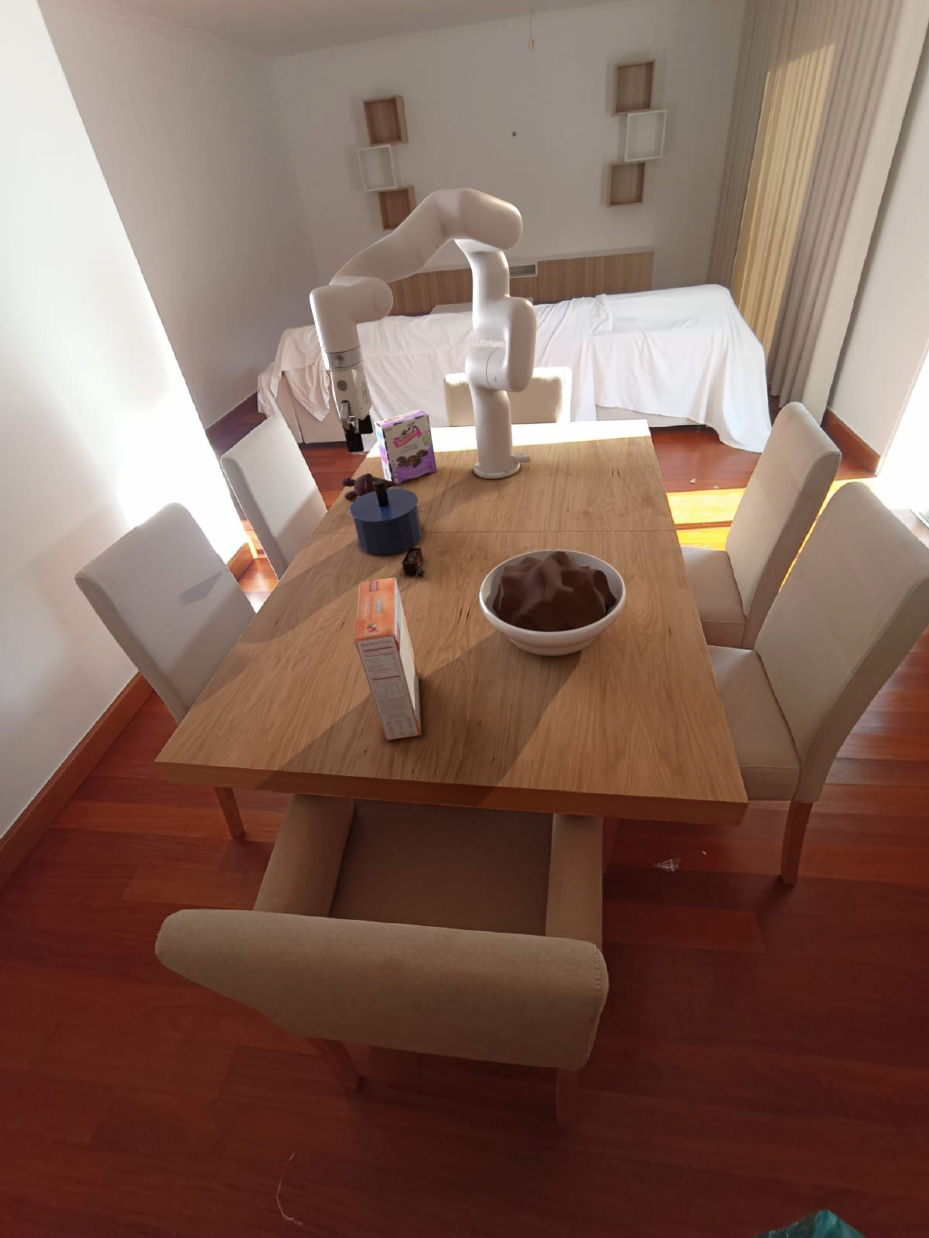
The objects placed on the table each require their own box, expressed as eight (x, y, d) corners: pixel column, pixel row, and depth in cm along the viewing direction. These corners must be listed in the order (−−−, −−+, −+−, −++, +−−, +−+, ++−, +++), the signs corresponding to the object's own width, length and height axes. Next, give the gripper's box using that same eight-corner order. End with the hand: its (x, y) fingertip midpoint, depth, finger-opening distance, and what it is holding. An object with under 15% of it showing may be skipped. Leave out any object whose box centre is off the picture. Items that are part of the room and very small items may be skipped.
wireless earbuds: (402, 578, 127) (400, 565, 125) (412, 560, 133) (409, 547, 131) (423, 579, 126) (421, 566, 124) (432, 560, 131) (430, 548, 129)
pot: (425, 521, 146) (419, 489, 140) (417, 553, 134) (411, 520, 129) (366, 525, 148) (359, 493, 142) (354, 557, 136) (345, 524, 131)
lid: (422, 490, 141) (418, 464, 137) (413, 523, 129) (408, 495, 125) (358, 495, 143) (352, 469, 139) (343, 528, 131) (336, 500, 127)
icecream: (397, 467, 157) (345, 473, 161) (389, 472, 151) (334, 479, 154) (402, 493, 160) (351, 499, 164) (394, 499, 153) (340, 505, 157)
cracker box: (384, 680, 103) (358, 580, 90) (419, 675, 103) (397, 574, 90) (383, 742, 92) (352, 639, 79) (421, 737, 92) (397, 633, 79)
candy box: (392, 486, 163) (381, 427, 153) (384, 479, 167) (372, 421, 157) (437, 471, 168) (429, 413, 157) (428, 465, 172) (419, 407, 162)
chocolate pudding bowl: (495, 587, 121) (489, 522, 111) (623, 591, 115) (628, 522, 106) (471, 673, 102) (461, 603, 93) (623, 683, 96) (628, 609, 87)
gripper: (352, 369, 110) (370, 457, 120) (370, 344, 123) (385, 426, 134) (312, 372, 111) (334, 460, 121) (335, 347, 124) (353, 428, 135)
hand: (361, 442), depth 127 cm, fingers open, 9 cm apart
